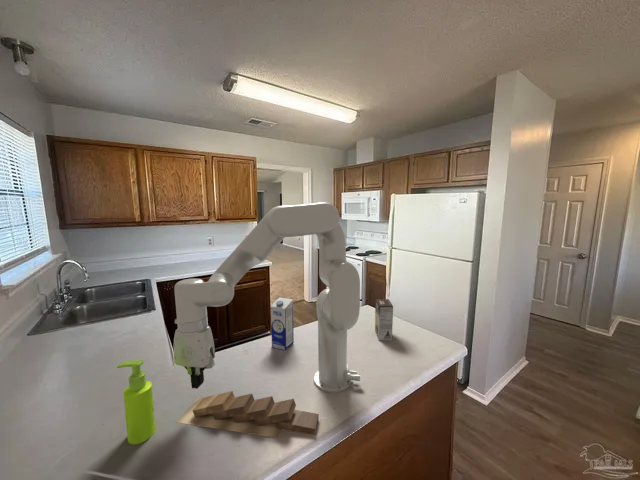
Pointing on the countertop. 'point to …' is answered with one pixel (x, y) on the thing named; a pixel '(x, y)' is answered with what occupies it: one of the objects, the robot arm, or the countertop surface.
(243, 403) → the domino
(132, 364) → the soap dispenser
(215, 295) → the robot arm
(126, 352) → the countertop surface
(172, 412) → the countertop surface
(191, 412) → the runner
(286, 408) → the domino
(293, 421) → the domino
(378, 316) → the coffee box
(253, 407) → the domino
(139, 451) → the countertop surface
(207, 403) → the domino
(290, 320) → the milk carton
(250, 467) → the countertop surface
